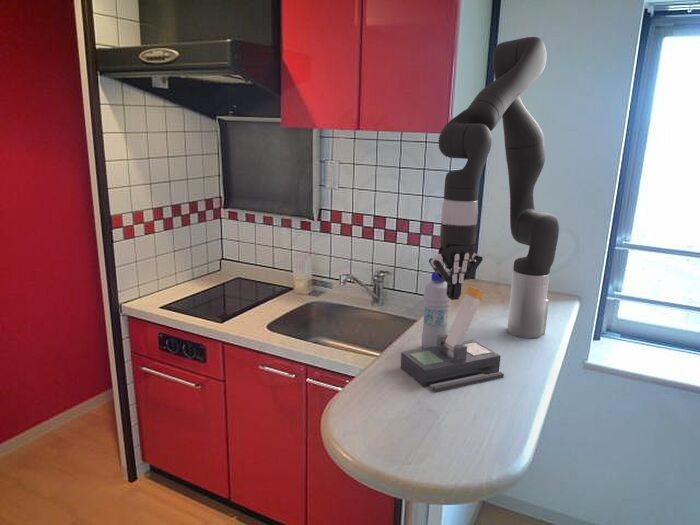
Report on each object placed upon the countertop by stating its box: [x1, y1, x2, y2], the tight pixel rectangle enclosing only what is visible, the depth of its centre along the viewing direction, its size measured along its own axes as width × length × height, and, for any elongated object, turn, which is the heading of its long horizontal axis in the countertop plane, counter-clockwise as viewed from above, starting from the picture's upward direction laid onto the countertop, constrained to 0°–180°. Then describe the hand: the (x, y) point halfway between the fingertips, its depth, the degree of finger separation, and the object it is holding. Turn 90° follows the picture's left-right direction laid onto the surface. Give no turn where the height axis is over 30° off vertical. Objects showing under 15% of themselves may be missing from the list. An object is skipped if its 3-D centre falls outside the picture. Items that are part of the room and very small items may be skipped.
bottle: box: [421, 271, 452, 348], centre depth 129 cm, size 7×7×20 cm
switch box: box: [400, 333, 501, 389], centre depth 119 cm, size 20×10×7 cm, turn 115°
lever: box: [444, 285, 485, 352], centre depth 118 cm, size 2×4×15 cm, turn 25°
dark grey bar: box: [429, 371, 505, 393], centre depth 114 cm, size 18×2×1 cm, turn 114°
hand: (453, 298), depth 115 cm, fingers closed
